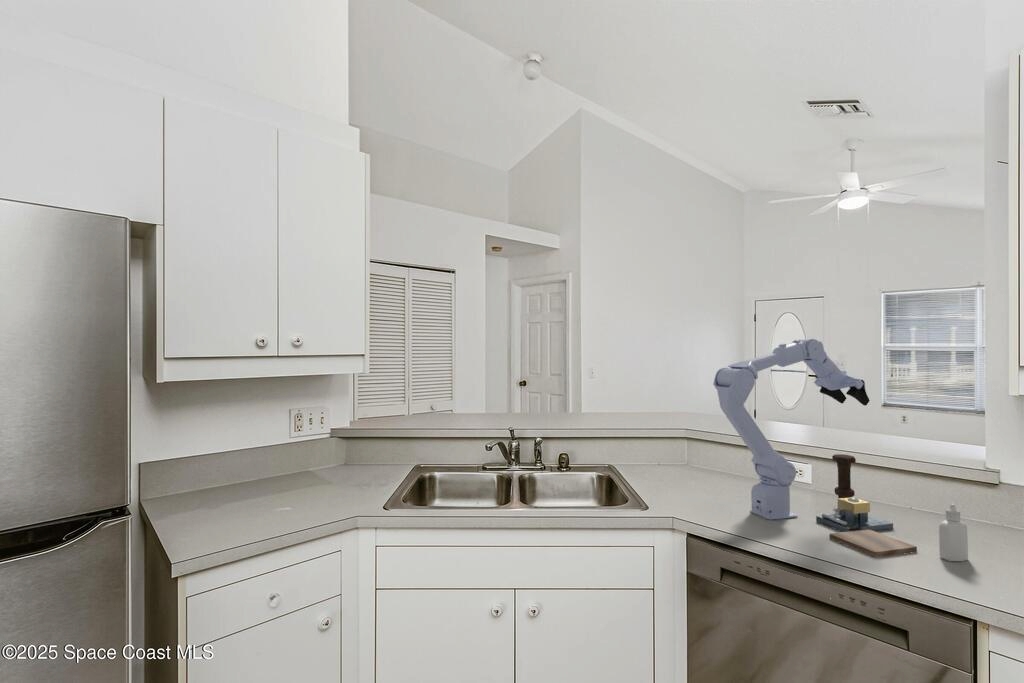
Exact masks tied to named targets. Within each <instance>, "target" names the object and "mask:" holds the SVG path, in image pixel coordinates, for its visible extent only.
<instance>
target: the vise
mask: <svg viewBox="0 0 1024 683" xmlns="http://www.w3.org/2000/svg"><path fill="white" fill-rule="evenodd" d="M858 499H859V498H857V497H854V498H849V501H851V502H854V503H855V502H858ZM815 519H816V520H815V521H816V523H819V524H822V525H824V526H827V527H829V528H831V527H832V528H831V529H834V528H835V529H834V530H836V531H839V530H840V531H839V532H848V531H857V530H865V529H870V530H872V531H875V532H880V531H882V530H883V531H889V530H894V522H890V521H887V520H885V519H882V518H878V517H875V516H872V515H869V512H866V513H857V514H854V513H851V512H848V511H845V510H842V509H839V513H832V514H826V513H822V514H821V515H816V517H815Z"/></svg>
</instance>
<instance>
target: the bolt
mask: <svg viewBox="0 0 1024 683" xmlns="http://www.w3.org/2000/svg"><path fill="white" fill-rule="evenodd" d="M832 461H834V462H836V467H837V486H836V487H834V494H835V495H836V496H838V498H837V500H838V499H839V498H849V497H855V490H854V489H853V488H852V484H851V483H852V482H851V468H852V464H855V463H856V462H857V460H856V457H855V456H854V455H850V454H842V453H840V454H839V453H837V454H833V455H832Z"/></svg>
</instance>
